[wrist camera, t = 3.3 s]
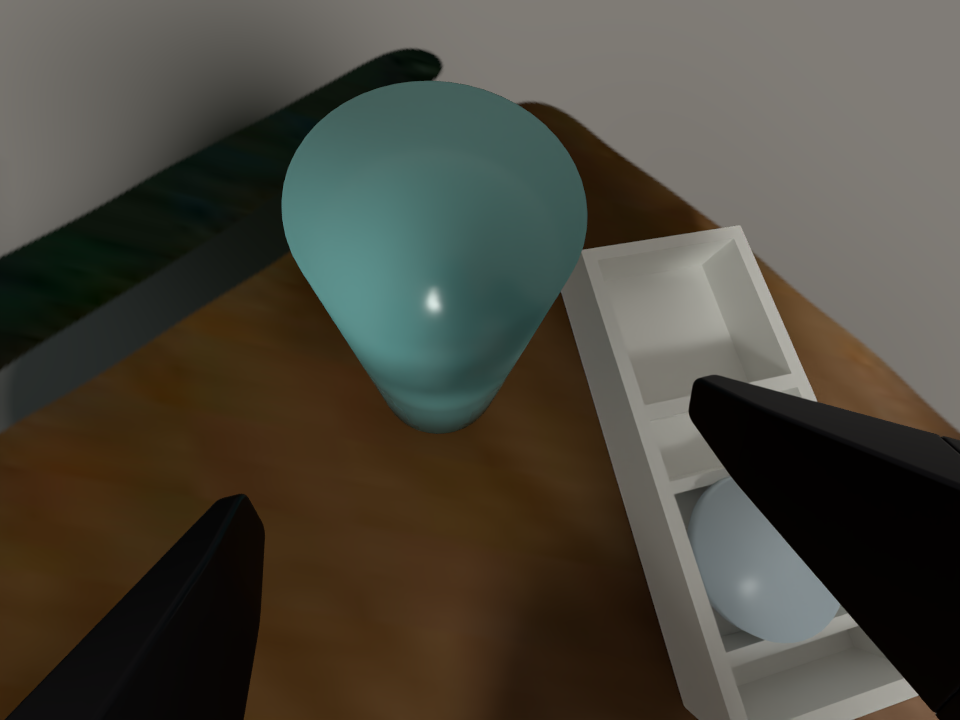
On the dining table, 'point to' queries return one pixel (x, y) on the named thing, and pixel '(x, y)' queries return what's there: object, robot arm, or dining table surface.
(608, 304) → the rack
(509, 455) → the dining table surface
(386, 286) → the teal rounded block
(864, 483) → the robot arm
